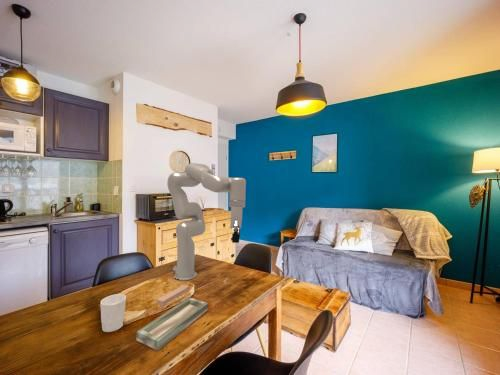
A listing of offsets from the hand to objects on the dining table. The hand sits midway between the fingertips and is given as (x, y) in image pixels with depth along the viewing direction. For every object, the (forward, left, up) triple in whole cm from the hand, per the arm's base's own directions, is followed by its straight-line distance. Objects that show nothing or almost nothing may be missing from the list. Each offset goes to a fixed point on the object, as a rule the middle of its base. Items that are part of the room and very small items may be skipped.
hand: (236, 239), depth 105 cm
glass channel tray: (-9, -28, -27) cm, 40 cm away
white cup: (-28, -40, -27) cm, 56 cm away
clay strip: (-22, -16, -27) cm, 39 cm away
